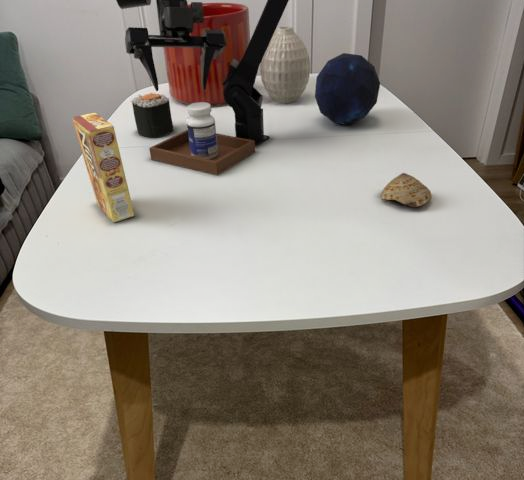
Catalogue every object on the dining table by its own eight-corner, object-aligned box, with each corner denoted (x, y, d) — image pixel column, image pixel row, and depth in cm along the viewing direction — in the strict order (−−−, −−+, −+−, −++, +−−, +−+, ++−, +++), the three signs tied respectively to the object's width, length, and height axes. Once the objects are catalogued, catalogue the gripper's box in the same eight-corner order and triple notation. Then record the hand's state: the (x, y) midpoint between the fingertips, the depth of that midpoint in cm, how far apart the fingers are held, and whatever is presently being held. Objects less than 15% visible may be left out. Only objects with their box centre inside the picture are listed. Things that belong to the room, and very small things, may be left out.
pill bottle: (191, 151, 109) (184, 102, 102) (218, 150, 109) (213, 100, 102) (190, 162, 105) (184, 110, 98) (218, 160, 105) (213, 108, 98)
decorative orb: (349, 115, 108) (377, 42, 105) (293, 103, 116) (318, 35, 113) (373, 140, 120) (399, 76, 117) (321, 128, 128) (344, 68, 125)
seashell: (408, 204, 83) (381, 170, 85) (395, 228, 88) (370, 195, 90) (446, 192, 85) (419, 160, 88) (431, 216, 90) (406, 184, 93)
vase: (310, 106, 131) (312, 31, 120) (261, 108, 131) (258, 33, 120) (308, 92, 141) (309, 21, 130) (261, 94, 141) (259, 23, 130)
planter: (243, 108, 132) (237, 16, 118) (159, 107, 135) (144, 18, 122) (259, 84, 149) (256, 1, 135) (184, 84, 152) (174, 3, 139)
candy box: (136, 216, 88) (115, 124, 78) (112, 223, 86) (88, 130, 76) (117, 199, 94) (95, 111, 84) (95, 205, 92) (70, 116, 82)
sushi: (157, 123, 125) (151, 88, 120) (180, 130, 121) (174, 94, 116) (131, 133, 121) (124, 97, 116) (153, 140, 117) (147, 103, 111)
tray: (191, 139, 116) (190, 128, 114) (255, 152, 108) (254, 140, 107) (151, 159, 108) (149, 147, 106) (217, 175, 100) (216, 162, 98)
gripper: (122, -24, 86) (134, 77, 89) (229, -17, 91) (237, 78, 94) (120, 5, 96) (131, 95, 100) (216, 10, 101) (223, 94, 105)
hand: (181, 90), depth 99 cm, fingers open, 9 cm apart
